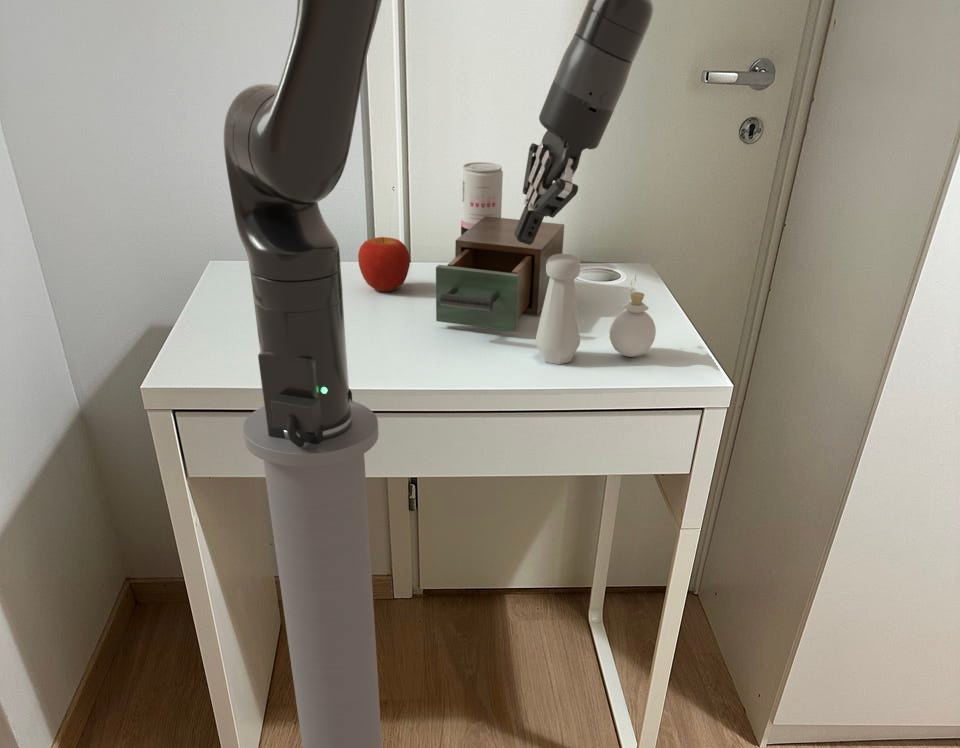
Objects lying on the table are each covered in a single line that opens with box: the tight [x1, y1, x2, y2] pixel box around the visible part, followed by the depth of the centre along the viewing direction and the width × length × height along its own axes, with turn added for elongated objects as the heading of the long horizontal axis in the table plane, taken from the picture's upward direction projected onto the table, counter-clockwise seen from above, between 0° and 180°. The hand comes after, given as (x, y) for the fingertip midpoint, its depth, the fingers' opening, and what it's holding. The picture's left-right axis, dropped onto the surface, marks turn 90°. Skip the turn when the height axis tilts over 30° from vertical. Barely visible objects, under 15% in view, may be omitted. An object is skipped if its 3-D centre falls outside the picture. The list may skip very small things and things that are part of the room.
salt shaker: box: [535, 253, 582, 365], centre depth 117 cm, size 6×6×13 cm
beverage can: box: [460, 161, 504, 236], centre depth 149 cm, size 7×7×15 cm
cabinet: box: [454, 216, 565, 316], centre depth 138 cm, size 15×13×9 cm
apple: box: [357, 236, 411, 293], centre depth 140 cm, size 8×8×8 cm
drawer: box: [435, 248, 535, 332], centre depth 128 cm, size 19×12×7 cm, turn 163°
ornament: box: [609, 274, 657, 358], centre depth 120 cm, size 6×7×10 cm
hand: (522, 240), depth 112 cm, fingers closed
